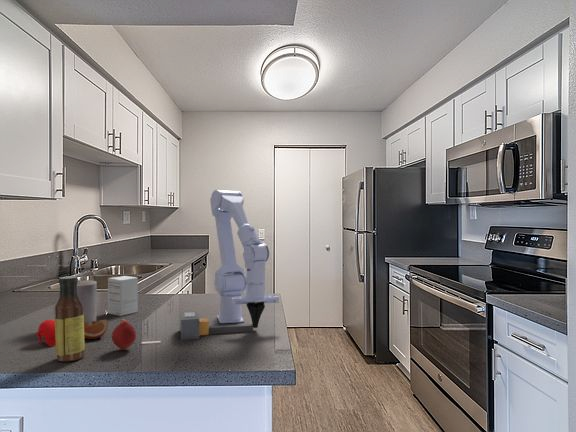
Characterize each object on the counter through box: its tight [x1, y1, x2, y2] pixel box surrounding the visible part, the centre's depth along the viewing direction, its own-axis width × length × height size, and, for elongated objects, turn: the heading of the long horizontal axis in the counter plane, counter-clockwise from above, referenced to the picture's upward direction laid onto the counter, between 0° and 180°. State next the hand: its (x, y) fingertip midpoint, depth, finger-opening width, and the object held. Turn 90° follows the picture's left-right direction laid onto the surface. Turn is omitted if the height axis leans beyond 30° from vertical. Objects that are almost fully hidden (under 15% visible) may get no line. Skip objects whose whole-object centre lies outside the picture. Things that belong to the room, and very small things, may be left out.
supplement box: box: [107, 275, 139, 317], centre depth 151 cm, size 7×7×13 cm
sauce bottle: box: [54, 275, 85, 363], centre depth 103 cm, size 6×6×20 cm
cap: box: [35, 319, 56, 347], centre depth 115 cm, size 8×6×6 cm
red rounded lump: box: [111, 318, 137, 351], centre depth 110 cm, size 6×6×8 cm
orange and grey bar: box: [199, 317, 254, 336], centre depth 128 cm, size 18×4×4 cm, turn 105°
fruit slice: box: [84, 319, 109, 340], centre depth 120 cm, size 8×7×5 cm
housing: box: [179, 310, 200, 341], centre depth 125 cm, size 11×5×6 cm, turn 15°
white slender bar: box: [140, 340, 162, 345], centre depth 116 cm, size 1×5×1 cm, turn 105°
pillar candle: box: [77, 278, 98, 323], centre depth 133 cm, size 10×10×15 cm
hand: (255, 327), depth 130 cm, fingers closed
